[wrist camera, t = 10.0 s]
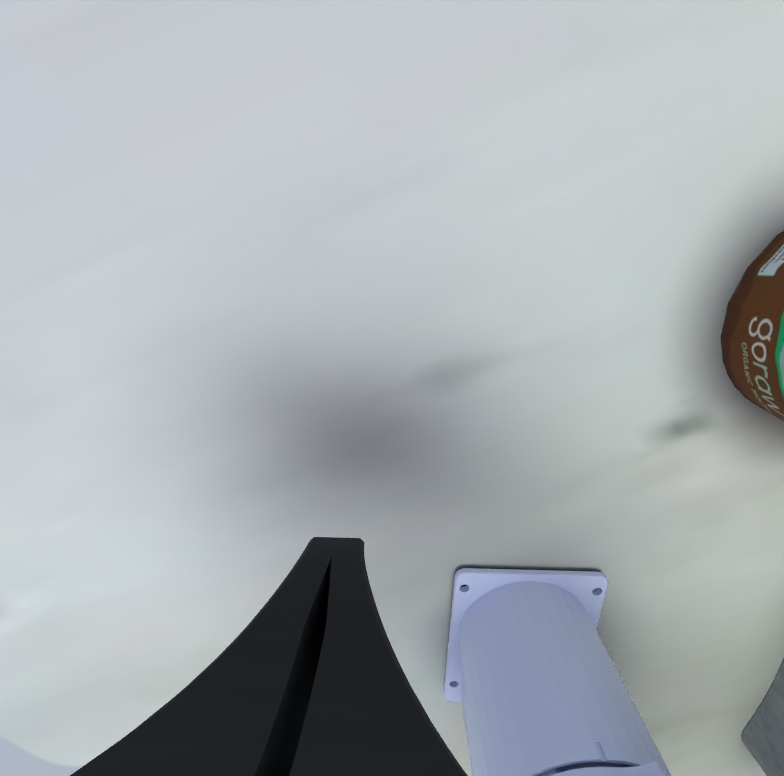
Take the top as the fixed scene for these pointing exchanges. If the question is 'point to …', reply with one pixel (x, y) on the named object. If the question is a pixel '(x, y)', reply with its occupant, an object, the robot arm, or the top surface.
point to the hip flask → (768, 729)
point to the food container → (758, 331)
